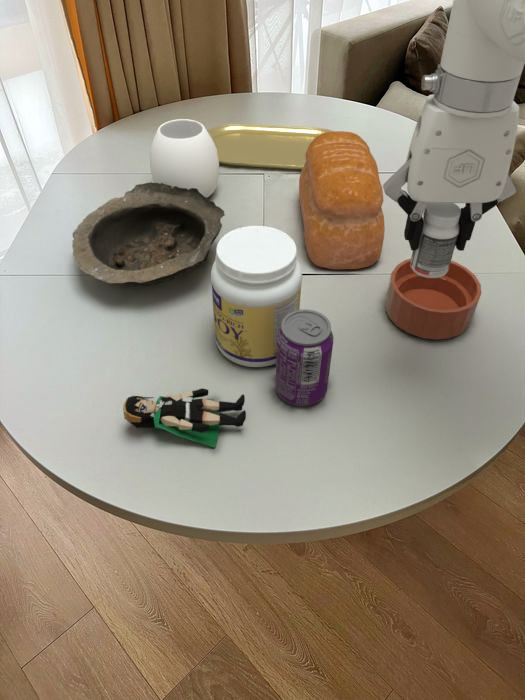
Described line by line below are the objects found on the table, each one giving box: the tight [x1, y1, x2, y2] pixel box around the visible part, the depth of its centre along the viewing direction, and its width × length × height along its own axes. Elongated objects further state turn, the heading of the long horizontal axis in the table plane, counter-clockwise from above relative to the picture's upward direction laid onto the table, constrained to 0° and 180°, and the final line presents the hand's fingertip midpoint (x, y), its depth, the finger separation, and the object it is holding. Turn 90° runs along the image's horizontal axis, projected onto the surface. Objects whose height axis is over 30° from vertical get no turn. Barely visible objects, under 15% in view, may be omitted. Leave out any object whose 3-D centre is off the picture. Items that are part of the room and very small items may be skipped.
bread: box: [298, 130, 386, 270], centre depth 99 cm, size 14×26×15 cm, turn 2°
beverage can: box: [274, 308, 335, 407], centre depth 73 cm, size 7×7×12 cm
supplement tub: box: [210, 225, 303, 368], centre depth 78 cm, size 12×12×17 cm
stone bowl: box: [71, 181, 226, 287], centre depth 94 cm, size 25×25×9 cm
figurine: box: [122, 388, 247, 449], centre depth 72 cm, size 8×6×15 cm
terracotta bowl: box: [384, 258, 482, 341], centre depth 86 cm, size 13×13×6 cm
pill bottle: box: [410, 203, 461, 278], centre depth 68 cm, size 5×5×8 cm
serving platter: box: [206, 123, 335, 171], centre depth 125 cm, size 19×35×2 cm, turn 84°
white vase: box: [149, 118, 220, 198], centre depth 108 cm, size 13×13×14 cm
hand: (435, 242), depth 68 cm, fingers closed on pill bottle, 4 cm apart
